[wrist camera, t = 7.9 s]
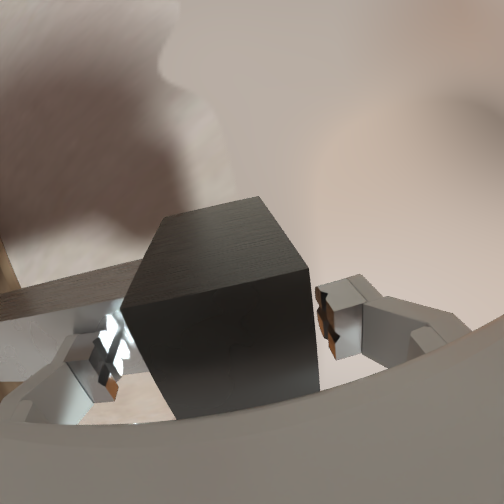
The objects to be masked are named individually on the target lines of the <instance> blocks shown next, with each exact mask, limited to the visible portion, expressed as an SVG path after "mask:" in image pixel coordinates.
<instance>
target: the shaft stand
mask: <svg viewBox="0 0 504 504" xmlns="http://www.w3.org/2000/svg"><path fill="white" fill-rule="evenodd" d="M18 289H21V287H20V285H19V282H18V280H17V278H16V275H15V273H14V271H13V268H12V266H11V263H10V261H9V258H8V256H7V253H6V251H5V248H4V245H3V243H2V240H1V237H0V294H2V293H6V292H10V291H14V290H18ZM23 382H25V381H21V382H0V404H1V402H2V400H3V398H4V397H5V396H7V395H8V394H9V393H11V392H12V391H13V390H14V389H16V388H17V387H18V386H19V385H21V384H22V383H23Z"/></svg>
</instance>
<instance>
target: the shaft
mask: <svg viewBox="0 0 504 504" xmlns="http://www.w3.org/2000/svg"><path fill="white" fill-rule="evenodd" d="M102 330H104V331H106V332H107V333H108V334H109V336H110V338H111V340H112V343H111V347H112V348H114V349H115V350H117V351H118V353H119V355H120V357H121V360H122V365H123V373H122V375H126V374H134V373H142V372H150V373H151V375H152V377H153V379H154V381H155V383H156V385H157V386H158V388H159V390H160V392H161V393H162V395H163V397H164V399H165V400H166V402H167V404H168V406H169V407H170V409H171V411H172V412H173V414H174V416H175V417H176V419H177V420H180V419H188V418H195V417H202V416H209V415H216V414H222V413H227V412H233V411H238V410H244V409H249V408H254V407H259V406H263V405H268V404H272V403H277V402H281V401H285V400H289V399H293V398H297V397H301V396H305V395H309V394H312V393H316V392H319V391H320V384H319V369H318V358H317V357H318V356H317V344H316V333H315V323H314V312H313V302H312V293H311V283H310V275H309V268H308V266H307V265H306V263H305V262H304V260H303V259H302V257H301V256H300V255H299V253H298V252H297V250H296V249H295V247H294V246H293V244H292V243H291V241H290V240H289V238H288V237H287V236H286V234H285V233H284V231H283V230H282V228H281V227H280V226H279V224H278V223H277V221H276V220H275V218H274V217H273V215H272V214H271V213H270V211H269V210H268V208H267V207H266V206H265V204H264V203H263V201H262V200H261V198H260V197H259V196H257V197H252V198H248V199H243V200H238V201H234V202H229V203H224V204H220V205H216V206H211V207H207V208H202V209H198V210H194V211H190V212H185V213H181V214H177V215H173V216H169V217H165V218H164V219H163V220H162V222H161V224H160V226H159V228H158V230H157V232H156V234H155V236H154V238H153V240H152V241H151V243H150V245H149V247H148V249H147V251H146V253H145V255H144V257H143V259H139V260H135V261H131V262H126V263H122V264H118V265H114V266H110V267H106V268H102V269H97V270H93V271H89V272H85V273H81V274H77V275H73V276H69V277H65V278H61V279H57V280H53V281H49V282H45V283H41V284H37V285H33V286H29V287H25V288H21V289H18V290H14V291H10V292H6V293H2V294H0V382H21V381H26V380H27V379H28V378H30V377H31V376H32V375H34V374H35V373H36V372H38V371H39V370H40V369H41V368H43V367H44V366H45V365H47V364H51V362H52V360H53V359H54V357H55V355H56V353H57V351H58V350H59V348H60V346H61V344H62V343H63V341H64V339H65V337H66V336H68V335H73V334H81V333H88V332H95V331H102Z"/></svg>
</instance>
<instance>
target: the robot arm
mask: <svg viewBox="0 0 504 504" xmlns="http://www.w3.org/2000/svg"><path fill="white" fill-rule="evenodd" d="M315 298H316V300H317V302H318V304H319V308H318V309H317V317H318V322H319V327H320V330H321V332H322V335H323V337H324V338H325V339H327V340H328V341H329V342H328V343H329V348H330V350H331V352H332V354H333V356H334V358H335V360H339V359H343V358H346V357H350V356H353V355H357V354H360V353H362V354H363V355H365V356H366V357H368V358H370V359H372V360H374V361H375V362H377V363H379V364H381V365H383V366H384V367H387V368H388V369H386V370H384V371H381V372H378V373H375V374H373V375H370V376H367V377H364V378H361V379H358V380H355V381H352V382H349V383H346V384H343V385H340V386H336V387H333V388H330V389H326V390H323V391H319V392H316V393H312V394H309V395H305V396H301V397H297V398H293V399H289V400H285V401H281V402H277V403H272V404H268V405H263V406H259V407H254V408H249V409H244V410H238V411H233V412H227V413H222V414H216V415H209V416H202V417H195V418H188V419H180V420H171V421H160V422H149V423H134V424H112V425H77V424H78V423H79V422H80V420H81V419H82V418H83V417H84V416H85V414H86V413H87V412H88V411H89V409H90V408H91V407H92V406H93V405H94V404H93V403H101V402H112V401H115V399H116V395H117V391H118V388H119V387H118V385H117V383H116V382H117V381H118V380H119V379H120V378H121V377H122V373H123V365H122V360H121V357H120V355H119V353H118V351H117V350H115V349H114V348H112V347H111V343H112V340H111V338H110V336H109V334H108V333H107V332H106V331H104V330H102V331H95V332H88V333H81V334H73V335H68V336H66V337H65V339H64V341H63V343H62V344H61V346H60V348H59V350H58V351H57V353H56V355H55V357H54V359H53V360H52V362H51V364H47V365H45V366H44V367H43V368H41V369H40V370H39V371H38V372H36V373H35V374H34V375H32V376H31V377H30V378H28V379H27V380H26V381H25V382H23V383H22V384H21V385H19V386H18V387H17V388H16V389H14V390H13V391H12V392H11V393H9V394H8V395H7V396H5V397H4V398H3V400H2V402H1V404H0V504H504V314H503V315H502V316H500V317H498V318H496V319H495V320H493V321H491V322H489V323H487V324H486V325H484V326H482V327H480V328H478V329H476V330H474V331H471V330H470V329H469V328H468V327H467V326H466V325H465V324H464V323H463V322H462V321H461V320H460V319H458V318H457V317H456V316H455V315H454V314H453V313H450V312H446V311H441V310H438V309H434V308H431V307H427V306H423V305H419V304H416V303H412V302H408V301H404V300H400V299H397V298H393V297H389V296H386V297H383V296H382V295H381V294H380V293H379V292H378V291H377V290H376V289H375V288H374V287H373V286H372V285H371V284H370V283H369V282H368V281H367V280H366V279H365V278H364V277H363V276H362V275H360V274H358V275H355V276H351V277H348V278H345V279H341V280H338V281H334V282H331V283H327V284H324V285H320V286H317V287H315Z"/></svg>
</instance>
